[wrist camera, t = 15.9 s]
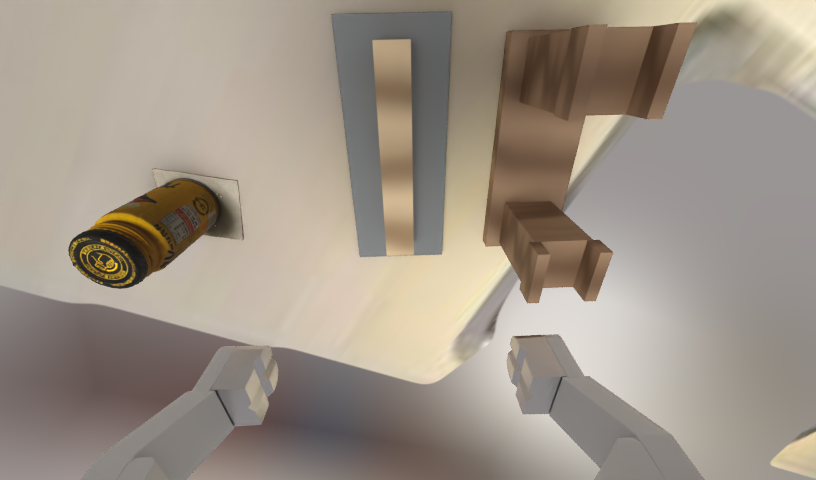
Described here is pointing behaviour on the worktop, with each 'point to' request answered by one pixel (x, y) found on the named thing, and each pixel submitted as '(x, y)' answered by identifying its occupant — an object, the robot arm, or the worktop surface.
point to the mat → (427, 120)
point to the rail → (395, 141)
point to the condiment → (157, 228)
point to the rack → (566, 138)
